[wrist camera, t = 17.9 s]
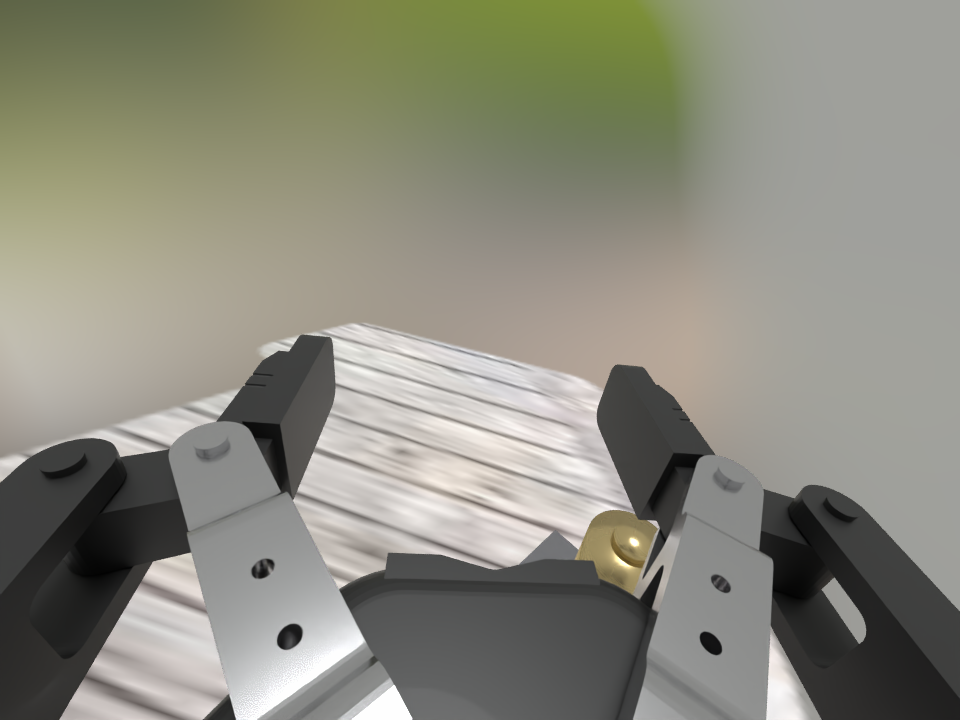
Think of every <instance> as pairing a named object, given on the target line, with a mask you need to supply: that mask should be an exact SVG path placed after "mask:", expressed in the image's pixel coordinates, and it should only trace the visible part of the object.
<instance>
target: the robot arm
mask: <svg viewBox="0 0 960 720" xmlns="http://www.w3.org/2000/svg"><path fill="white" fill-rule="evenodd" d="M334 396H335V370H334V355H333V343H332V339H331V338H330V337H322V336H311V335H300V336H299V338H298V339H297V341H296V342H295V344H294V345H293V347H292V348H291V349H290V351H289V352H286V351H278V352H276V353H274V354H273V355H271V356H269V357H268V358H266V359H265V360H263V361H262V362H261V363H260V365H259V366H258V367H257V369H256V370H255V371H254V373H253V376H251V377H250V378H249V379H248V381H247V382H246V383H245V386H243V387H242V388H241V390H240V391H239V392H238V394H237V395H236V396H235V398H234V399H233V400H232V402H231V403H230V404H229V406H228V407H227V408H226V410H225V411H224V412H223V414H222V415H221V416H220V418H219V419H218V420H217V422H213V423H208V424H204V425H201V426H198V427H196V428H194V429H192V430H190V431H188V432H186V433H185V434H183V435H182V436H180V437H179V438H178V439H177V440H176V441H175V442H174V443H173V445H172V446H171V448H170V449H168V450H163V451H157V452H151V453H144V454H138V455H131V456H124V457H120V455H119V453H118V451H117V449H116V447H115V446H114V445H113V444H112V443H111V442H109V441H106V440H102V439H95V438H88V439H78V440H73V441H68V442H64V443H61V444H58V445H55V446H52V447H50V448H47V449H45V450H43V451H41V452H39V453H37V454H35V455H33V456H32V457H30V458H29V459H27V460H26V461H25V462H23V463H22V464H21V465H20V466H18V467H17V468H16V469H15V470H14V471H13V472H12V473H11V474H10V475H8V476H7V477H6V478H5V479H4V480H3V481H2V482H1V483H0V720H59V719H60V717H61V716H62V714H63V712H64V711H65V709H66V707H67V706H68V704H69V702H70V700H71V699H72V697H73V695H74V694H75V692H76V690H77V689H78V687H79V685H80V684H81V682H82V680H83V679H84V677H85V675H86V674H87V672H88V670H89V668H90V667H91V665H92V663H93V662H94V660H95V658H96V657H97V655H98V653H99V652H100V650H101V648H102V647H103V645H104V643H105V641H106V640H107V638H108V636H109V635H110V633H111V631H112V630H113V628H114V626H115V625H116V623H117V621H118V620H119V618H120V616H121V615H122V613H123V611H124V609H125V608H126V606H127V604H128V603H129V601H130V599H131V598H132V596H133V594H134V593H135V591H136V589H137V588H138V586H139V584H140V583H141V581H142V579H143V577H144V576H145V574H146V572H147V571H148V569H149V567H150V566H151V564H152V562H153V561H157V560H161V559H165V558H169V557H174V556H178V555H182V554H186V553H190V552H191V553H192V557H193V560H194V564H195V568H196V572H197V575H198V579H199V583H200V587H201V590H202V594H203V598H204V602H205V605H206V609H207V613H208V617H209V620H210V624H211V628H212V631H213V635H214V639H215V643H216V646H217V650H218V654H219V658H220V661H221V665H222V669H223V673H224V676H225V680H226V684H227V687H228V691H229V694H228V695H227V696H226V697H225V698H224V699H223V700H222V701H221V702H220V703H219V704H218V705H217V706H216V707H215V708H214V709H213V710H212V711H211V712H210V713H209V714H208V715H207V716H206V717H205V718H204V719H203V720H766V710H767V689H768V668H769V647H770V626H771V627H772V629H773V631H774V633H775V634H776V636H777V638H778V640H779V642H780V644H781V645H782V647H783V649H784V651H785V653H786V655H787V657H788V658H789V660H790V662H791V664H792V666H793V668H794V669H795V671H796V673H797V675H798V677H799V679H800V680H801V682H802V684H803V686H804V688H805V690H806V692H807V693H808V695H809V697H810V699H811V701H812V702H813V704H814V706H815V708H816V710H817V712H818V714H819V715H820V717H821V719H822V720H960V611H959V610H958V609H957V608H956V607H955V606H954V605H953V604H952V603H951V602H950V601H949V600H948V599H947V597H946V596H945V595H944V594H943V593H942V592H941V591H940V590H939V589H938V588H937V587H936V586H935V585H934V584H933V582H932V581H931V580H930V579H929V578H928V577H927V576H926V575H925V574H924V573H923V572H922V571H921V569H920V568H919V567H918V566H917V565H916V564H915V563H914V562H913V561H912V560H911V559H910V558H909V557H908V556H907V554H906V553H905V552H904V551H903V550H902V549H901V548H900V547H899V546H898V545H897V544H896V543H895V542H894V540H893V539H892V538H891V537H890V536H889V535H888V534H887V533H886V532H885V531H884V530H883V529H882V528H881V527H880V526H879V524H878V523H877V522H876V521H875V520H874V519H873V518H872V517H871V516H870V515H869V514H868V513H867V512H866V511H865V510H864V509H863V508H862V507H861V506H860V505H858V504H857V503H856V502H854V501H853V500H851V499H850V498H848V497H847V496H845V495H843V494H841V493H839V492H837V491H835V490H832V489H830V488H827V487H823V486H818V485H808V486H806V487H804V488H803V489H802V490H801V491H800V493H799V494H798V495H797V496H796V498H795V499H794V498H791V497H788V496H784V495H781V494H778V493H774V492H771V491H768V490H765V489H763V487H762V485H761V483H760V482H759V481H758V479H757V478H756V477H755V476H754V475H753V474H752V473H751V472H750V471H748V470H747V469H746V468H745V467H743V466H742V465H740V464H739V463H736V462H734V461H733V460H730V459H728V458H725V457H721V456H717V455H715V454H714V452H713V451H712V449H711V448H710V447H709V445H708V444H707V442H706V441H705V440H704V438H703V437H702V435H701V434H700V433H699V431H698V430H697V429H696V427H695V426H694V424H693V423H692V422H690V419H689V418H688V416H687V415H686V413H685V412H683V411H682V408H681V407H680V405H679V404H678V402H677V401H676V400H675V398H674V397H673V396H672V395H671V394H669V393H668V392H667V391H665V390H664V389H663V388H662V387H660V386H659V385H656V384H655V383H654V382H653V380H652V379H651V377H650V376H649V374H648V373H647V371H646V370H645V369H644V368H643V367H638V366H628V365H615V366H614V367H613V368H612V370H611V373H610V376H609V378H608V381H607V384H606V386H605V389H604V392H603V395H602V397H601V400H600V403H599V406H598V410H597V423H598V427H599V430H600V432H601V434H602V437H603V439H604V441H605V444H606V446H607V448H608V451H609V453H610V455H611V458H612V460H613V462H614V465H615V467H616V469H617V472H618V474H619V476H620V479H621V481H622V483H623V486H624V488H625V490H626V493H627V495H628V497H629V500H630V502H631V504H632V507H633V509H634V511H635V514H636V516H637V518H638V520H654V521H657V522H658V525H659V528H658V530H657V532H656V533H655V535H654V538H653V541H652V544H651V546H650V549H649V552H648V555H647V557H646V560H645V563H644V566H643V568H642V571H641V574H640V577H639V579H638V582H637V585H636V588H635V590H634V592H633V595H632V594H630V593H629V592H628V591H626V590H624V589H622V588H620V587H618V586H617V585H615V584H612V583H610V582H608V581H605V580H603V579H599V578H598V574H597V571H596V568H595V564H594V561H591V560H564V559H542V560H538V561H533V562H529V563H525V564H521V565H516V566H512V567H508V568H504V569H499V570H492V569H488V568H484V567H481V566H477V565H474V564H470V563H467V562H464V561H460V560H457V559H453V558H450V557H446V556H443V555H433V554H406V553H388V557H387V563H386V570H382V571H378V572H374V573H372V574H369V575H366V576H363V577H361V578H359V579H357V580H355V581H352V582H350V583H348V584H347V585H345V586H344V587H342V588H340V589H338V587H337V585H336V583H335V581H334V579H333V577H332V576H331V574H330V572H329V570H328V568H327V566H326V564H325V562H324V560H323V558H322V556H321V554H320V552H319V550H318V548H317V546H316V545H315V543H314V541H313V539H312V537H311V535H310V533H309V531H308V529H307V527H306V525H305V523H304V521H303V519H302V517H301V515H300V514H299V512H298V510H297V508H296V506H295V504H294V502H293V499H294V497H295V494H296V492H297V490H298V487H299V485H300V482H301V480H302V478H303V475H304V473H305V470H306V468H307V466H308V463H309V461H310V458H311V456H312V454H313V451H314V449H315V446H316V444H317V441H318V439H319V437H320V434H321V432H322V429H323V427H324V425H325V422H326V420H327V417H328V415H329V413H330V410H331V408H332V405H333V401H334ZM834 577H835V578H836V580H837V581H838V583H839V584H840V585H841V587H842V588H843V589H844V591H845V592H846V593H847V595H848V596H849V597H850V599H851V600H852V602H853V603H854V604H855V606H856V607H857V608H858V610H859V611H860V613H861V614H862V616H863V618H864V621H865V624H866V637H865V639H864V641H863V642H861V643H860V644H858V642H857V640H856V639H855V638H854V636H853V635H852V633H851V632H850V630H849V629H848V627H847V626H846V625H845V623H844V622H843V620H842V619H841V617H840V616H839V614H838V613H837V611H836V610H835V608H834V607H833V606H832V604H831V603H830V601H829V600H828V598H827V597H826V595H825V594H824V593H823V591H822V590H821V589H822V588H823V587H824V586H826V585H827V584H828V583H829V582H830V581H831V580H832V579H833V578H834Z"/></svg>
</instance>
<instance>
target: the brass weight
mask: <svg viewBox="0 0 960 720" xmlns="http://www.w3.org/2000/svg"><path fill="white" fill-rule="evenodd" d="M657 530H658V529H657V528H656V527H655V526H654V525H653V524H651V523H650V522H648V521H647V520H638V518H637V516H636V515H635V514H633V513H630V512H626V511H620V510H610V511H605V512H603V513H600V514H599V515H597V516H596V517H595V518H594V519H593V520H592V521H591V523H590V525H589V527H588V530H587V532H586V534H585V537H584V539H583V541H582V544H581V546H580V548H579V551H578V553H577V555H576V558H575V560H591V561H594V564H595V568H596V571H597V574H598V578H599V579H603V580H605V581H608V582H610V583H612V584H615V585H617V586H618V587H620V588H622V589H624V590H626V591H628V592H629V593H630V594H632V595H633V592H634V590H635V588H636V585H637V582H638V579H639V577H640V574H641V571H642V568H643V566H644V563H645V560H646V557H647V555H648V552H649V549H650V546H651V544H652V541H653V538H654V535H655V533H656V532H657Z"/></svg>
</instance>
